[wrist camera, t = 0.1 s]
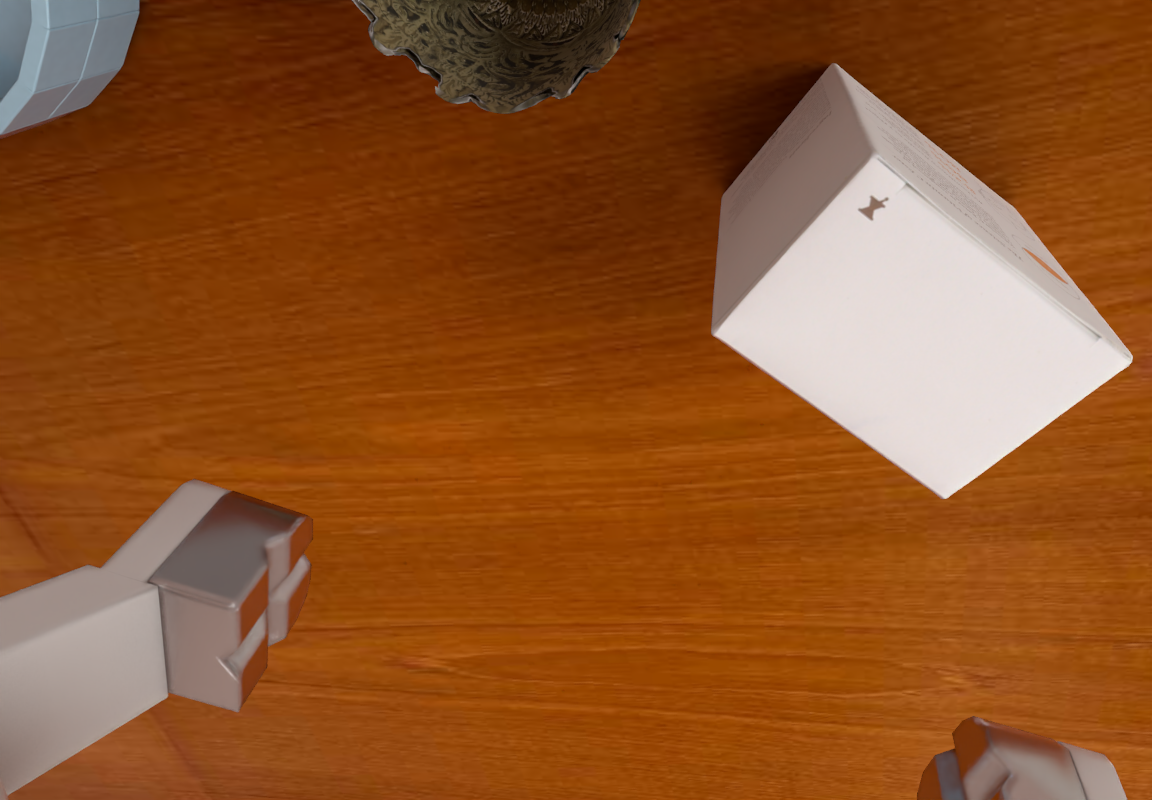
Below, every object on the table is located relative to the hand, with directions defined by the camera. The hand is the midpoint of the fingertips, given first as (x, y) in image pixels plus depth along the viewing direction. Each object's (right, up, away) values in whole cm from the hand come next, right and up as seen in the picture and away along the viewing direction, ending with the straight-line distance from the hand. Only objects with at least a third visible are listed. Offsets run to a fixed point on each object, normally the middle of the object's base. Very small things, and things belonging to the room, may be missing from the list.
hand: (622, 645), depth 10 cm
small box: (+9, +10, +18) cm, 22 cm away
